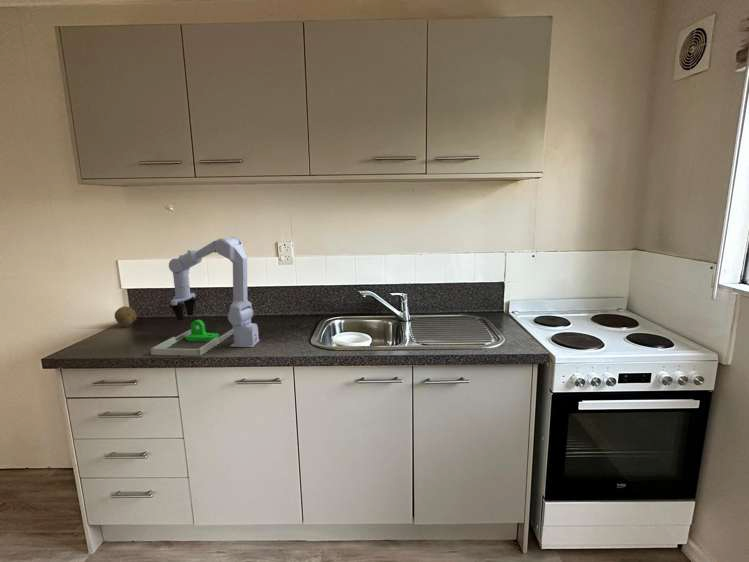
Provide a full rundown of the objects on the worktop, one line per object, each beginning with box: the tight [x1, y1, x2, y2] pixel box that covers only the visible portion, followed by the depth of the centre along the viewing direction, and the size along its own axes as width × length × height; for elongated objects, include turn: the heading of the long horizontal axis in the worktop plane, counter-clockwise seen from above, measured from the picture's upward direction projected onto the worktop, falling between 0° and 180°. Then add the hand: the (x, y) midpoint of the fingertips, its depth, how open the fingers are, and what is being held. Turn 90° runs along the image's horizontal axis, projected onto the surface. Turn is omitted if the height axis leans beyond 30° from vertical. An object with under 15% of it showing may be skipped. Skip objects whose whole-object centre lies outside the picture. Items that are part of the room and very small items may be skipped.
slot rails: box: [174, 325, 233, 344], centre depth 178 cm, size 20×20×2 cm
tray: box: [150, 336, 220, 357], centre depth 162 cm, size 20×14×2 cm
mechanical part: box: [185, 319, 220, 342], centre depth 173 cm, size 12×6×8 cm, turn 79°
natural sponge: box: [114, 306, 138, 328], centre depth 195 cm, size 9×9×10 cm
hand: (185, 317), depth 171 cm, fingers open, 7 cm apart
